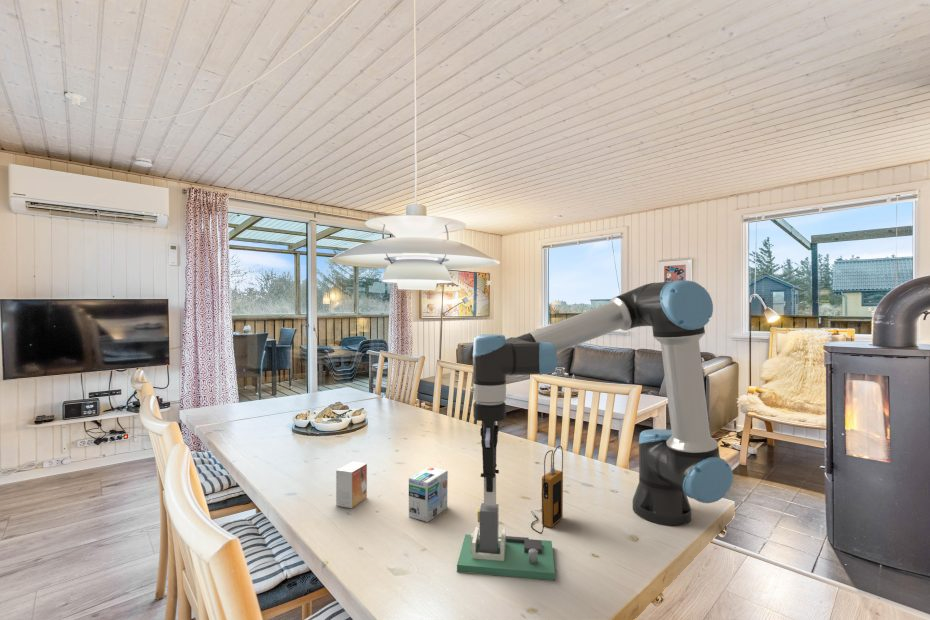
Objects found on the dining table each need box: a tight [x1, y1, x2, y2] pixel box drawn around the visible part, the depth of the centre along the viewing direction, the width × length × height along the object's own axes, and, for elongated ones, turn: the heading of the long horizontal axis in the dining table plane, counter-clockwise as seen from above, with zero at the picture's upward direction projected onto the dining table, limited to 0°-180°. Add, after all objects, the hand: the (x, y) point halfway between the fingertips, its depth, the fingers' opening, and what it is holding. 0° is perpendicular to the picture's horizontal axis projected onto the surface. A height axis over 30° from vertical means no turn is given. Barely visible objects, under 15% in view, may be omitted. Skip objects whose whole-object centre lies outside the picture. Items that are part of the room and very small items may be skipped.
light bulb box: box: [408, 466, 449, 523], centre depth 123 cm, size 11×7×11 cm, turn 151°
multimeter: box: [529, 445, 564, 534], centre depth 119 cm, size 15×10×20 cm
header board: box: [456, 526, 556, 581], centre depth 100 cm, size 21×13×5 cm, turn 82°
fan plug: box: [477, 502, 500, 554], centre depth 101 cm, size 5×4×10 cm
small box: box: [335, 461, 368, 509], centre depth 130 cm, size 8×6×10 cm
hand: (490, 503), depth 101 cm, fingers closed
